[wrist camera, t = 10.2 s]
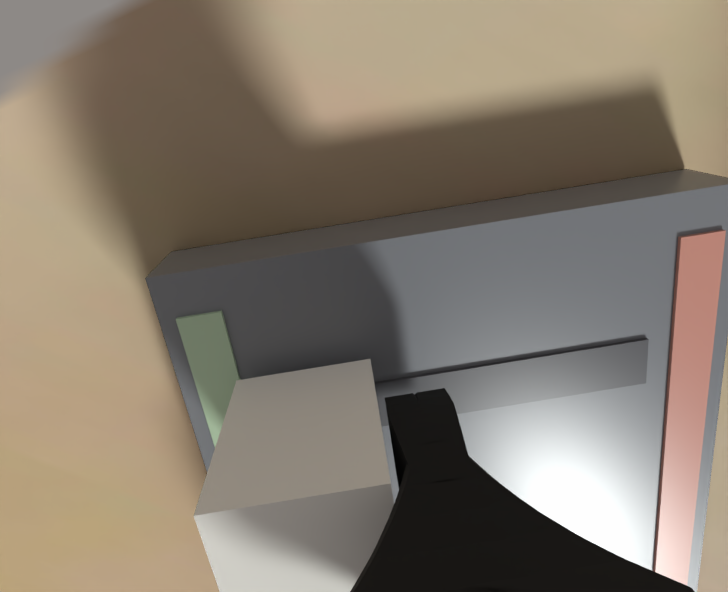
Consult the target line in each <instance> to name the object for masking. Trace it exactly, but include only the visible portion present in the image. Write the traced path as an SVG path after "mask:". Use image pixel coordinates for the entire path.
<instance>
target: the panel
mask: <svg viewBox="0 0 728 592" xmlns="http://www.w3.org/2000/svg"><path fill="white" fill-rule="evenodd" d="M145 279H146V282H147V285H148V288H149V291H150V295H151V298H152V301H153V304H154V307H155V310H156V313H157V316H158V320H159V323H160V326H161V329H162V332H163V335H164V338H165V342H166V345H167V348H168V351H169V354H170V357H171V360H172V364H173V367H174V370H175V373H176V376H177V379H178V382H179V385H180V389H181V392H182V395H183V398H184V401H185V404H186V407H187V411H188V414H189V417H190V420H191V423H192V426H193V429H194V433H195V436H196V439H197V442H198V445H199V448H200V451H201V454H202V458H203V461H204V464H205V467H206V470H207V472H208V469H209V466H210V463H211V459H212V456H213V453H214V450H215V447H216V444H217V440H218V437H219V434H220V431H221V428H222V425H223V421H224V418H225V415H226V412H227V409H228V406H229V402H230V399H231V396H232V393H233V390H234V387H235V383H236V380H242V379H249V378H255V377H261V376H267V375H273V374H279V373H285V372H292V371H298V370H304V369H310V368H316V367H322V366H328V365H335V364H341V363H347V362H353V361H359V360H365V359H371V366H372V372H373V378H374V384H375V390H376V396H377V402H378V408H379V414H380V420H381V426H382V433H383V439H384V445H385V451H386V457H387V463H388V469H389V475H390V481H391V487H392V494H393V500H394V503H395V500H396V497H397V495H398V492H399V487H398V481H397V475H396V469H395V462H394V456H393V449H392V443H391V436H390V430H389V423H388V417H387V410H386V403H385V397H392V396H398V395H404V394H410V393H413V394H416V393H417V392H423V391H429V390H435V389H442V388H445V390H446V391H447V393H448V394H449V396H450V397H451V399H452V401H453V403H454V405H455V409H456V412H457V416H458V419H459V423H460V426H461V430H462V434H463V437H464V441H465V445H466V448H467V452H468V456H469V457H471V458H472V459H473V460H474V461H475V462H476V463H477V464H478V465H479V466H480V467H482V468H483V469H484V470H485V471H486V472H487V473H488V474H490V475H491V476H492V477H493V478H494V479H495V480H497V481H498V482H499V483H500V484H502V485H503V486H504V487H505V488H507V489H508V490H509V491H511V492H512V493H513V494H515V495H516V496H517V497H519V498H520V499H521V500H523V501H524V502H526V503H527V504H529V505H530V506H532V507H533V508H535V509H536V510H537V511H539V512H540V513H542V514H544V515H545V516H547V517H549V518H550V519H552V520H554V521H555V522H557V523H559V524H560V525H562V526H564V527H565V528H567V529H569V530H570V531H572V532H574V533H575V534H577V535H579V536H581V537H583V538H584V539H586V540H588V541H590V542H592V543H594V544H596V545H598V546H600V547H602V548H604V549H606V550H608V551H610V552H612V553H614V554H616V555H618V556H620V557H622V558H624V559H626V560H628V561H631V562H633V563H635V564H638V565H640V566H642V567H645V568H647V569H649V570H652V571H654V572H656V573H659V574H661V575H663V576H666V577H668V578H670V579H673V580H675V581H677V582H680V583H682V584H684V585H687V586H689V587H691V588H692V589H693V590H694V591H695V592H697V587H698V579H699V570H700V562H701V554H702V545H703V537H704V528H705V520H706V512H707V503H708V495H709V487H710V478H711V470H712V461H713V453H714V445H715V436H716V428H717V419H718V411H719V403H720V394H721V386H722V378H723V369H724V361H725V352H726V344H727V336H728V178H727V177H722V176H717V175H712V174H708V173H703V172H698V171H693V170H689V169H684V170H677V171H671V172H665V173H659V174H652V175H646V176H640V177H634V178H628V179H621V180H615V181H609V182H603V183H596V184H590V185H584V186H578V187H571V188H565V189H559V190H553V191H547V192H540V193H534V194H528V195H522V196H515V197H509V198H503V199H497V200H490V201H484V202H478V203H472V204H465V205H459V206H453V207H447V208H441V209H434V210H428V211H422V212H416V213H409V214H403V215H397V216H391V217H384V218H378V219H372V220H366V221H360V222H353V223H347V224H341V225H335V226H328V227H322V228H316V229H310V230H303V231H297V232H291V233H285V234H279V235H272V236H266V237H260V238H254V239H247V240H241V241H235V242H229V243H222V244H216V245H210V246H204V247H197V248H191V249H185V250H179V251H173V252H170V253H169V254H168V256H167V257H166V258H165V259H164V260H163V261H162V262H161V263H160V264H159V265H158V266H157V267H156V268H155V269H154V270H153V271H152V272H151V273H150V274H149V275H148V276H147V277H146V278H145Z"/></svg>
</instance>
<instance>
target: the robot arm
mask: <svg viewBox="0 0 728 592" xmlns="http://www.w3.org/2000/svg"><path fill="white" fill-rule="evenodd" d="M385 403H386V410H387V417H388V423H389V430H390V436H391V443H392V449H393V456H394V462H395V469H396V475H397V481H398V487H399V492H398V495H397V497H396V500H395V503H394V506H393V508H392V511H391V513H390V516H389V518H388V521H387V523H386V525H385V527H384V530H383V532H382V534H381V536H380V538H379V541H378V543H377V545H376V547H375V549H374V551H373V553H372V555H371V557H370V559H369V560H368V562H367V564H366V566H365V567H364V569H363V571H362V572H361V574H360V576H359V578H358V579H357V581H356V583H355V584H354V586H353V588H352V590H351V591H350V592H695V591H694V590H693V589H692V588H691V587H689V586H687V585H684V584H682V583H680V582H677V581H675V580H673V579H670V578H668V577H666V576H663V575H661V574H659V573H656V572H654V571H652V570H649V569H647V568H645V567H642V566H640V565H638V564H635V563H633V562H631V561H628V560H626V559H624V558H622V557H620V556H618V555H616V554H614V553H612V552H610V551H608V550H606V549H604V548H602V547H600V546H598V545H596V544H594V543H592V542H590V541H588V540H586V539H584V538H583V537H581V536H579V535H577V534H575V533H574V532H572V531H570V530H569V529H567V528H565V527H564V526H562V525H560V524H559V523H557V522H555V521H554V520H552V519H550V518H549V517H547V516H545V515H544V514H542V513H540V512H539V511H537V510H536V509H535V508H533V507H532V506H530V505H529V504H527V503H526V502H524V501H523V500H521V499H520V498H519V497H517V496H516V495H515V494H513V493H512V492H511V491H509V490H508V489H507V488H505V487H504V486H503V485H502V484H500V483H499V482H498V481H497V480H495V479H494V478H493V477H492V476H491V475H490V474H488V473H487V472H486V471H485V470H484V469H483V468H482V467H480V466H479V465H478V464H477V463H476V462H475V461H474V460H473V459H472V458H471V457H469V456H468V452H467V448H466V445H465V441H464V437H463V434H462V430H461V426H460V423H459V419H458V416H457V412H456V409H455V405H454V403H453V401H452V399H451V397H450V396H449V394H448V393H447V391H446V390H445V388H442V389H435V390H429V391H423V392H417V393H416V394H413V393H410V394H404V395H398V396H392V397H385Z"/></svg>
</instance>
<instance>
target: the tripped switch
mask: <svg viewBox="0 0 728 592" xmlns="http://www.w3.org/2000/svg"><path fill="white" fill-rule="evenodd" d="M393 506H394V500H393V494H392V487H391V481H390V475H389V469H388V463H387V457H386V451H385V445H384V439H383V433H382V426H381V420H380V414H379V408H378V402H377V396H376V390H375V384H374V378H373V372H372V366H371V359H365V360H359V361H353V362H347V363H341V364H335V365H328V366H322V367H316V368H310V369H304V370H298V371H292V372H285V373H279V374H273V375H267V376H261V377H255V378H249V379H242V380H236V383H235V387H234V390H233V393H232V396H231V399H230V402H229V406H228V409H227V412H226V415H225V418H224V421H223V425H222V428H221V431H220V434H219V437H218V440H217V444H216V447H215V450H214V453H213V456H212V459H211V463H210V466H209V469H208V472H207V475H206V478H205V482H204V485H203V488H202V491H201V494H200V497H199V501H198V504H197V507H196V510H195V513H194V518H195V521H196V524H197V527H198V530H199V533H200V536H201V539H202V541H203V544H204V547H205V550H206V553H207V556H208V559H209V562H210V565H211V568H212V571H213V573H214V576H215V579H216V582H217V585H218V588H219V591H220V592H350V591H351V590H352V588H353V586H354V584H355V583H356V581H357V579H358V578H359V576H360V574H361V572H362V571H363V569H364V567H365V566H366V564H367V562H368V560H369V559H370V557H371V555H372V553H373V551H374V549H375V547H376V545H377V543H378V541H379V538H380V536H381V534H382V532H383V530H384V527H385V525H386V523H387V521H388V518H389V516H390V513H391V511H392V508H393Z"/></svg>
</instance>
